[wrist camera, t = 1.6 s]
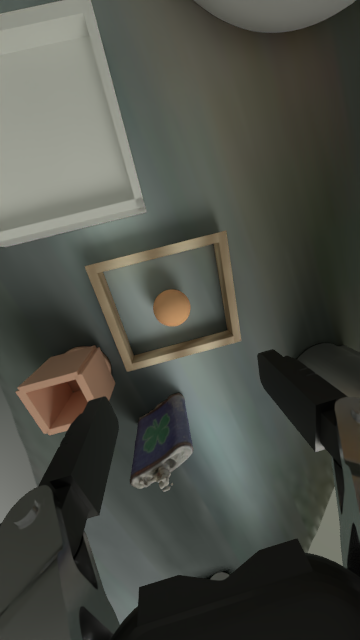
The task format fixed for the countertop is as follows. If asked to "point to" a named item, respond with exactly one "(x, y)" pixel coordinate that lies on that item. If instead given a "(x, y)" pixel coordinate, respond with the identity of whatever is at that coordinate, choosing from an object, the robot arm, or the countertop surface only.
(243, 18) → the bowl
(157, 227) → the countertop surface
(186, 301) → the ball
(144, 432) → the flask
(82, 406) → the cup
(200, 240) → the corral
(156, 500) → the countertop surface
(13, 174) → the tray
